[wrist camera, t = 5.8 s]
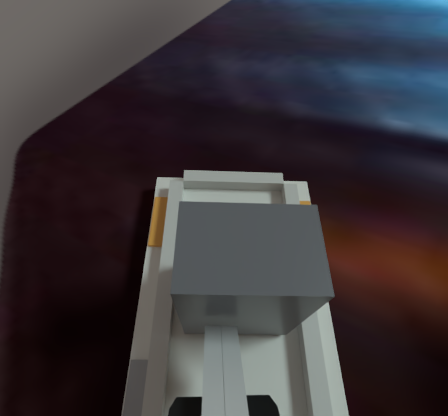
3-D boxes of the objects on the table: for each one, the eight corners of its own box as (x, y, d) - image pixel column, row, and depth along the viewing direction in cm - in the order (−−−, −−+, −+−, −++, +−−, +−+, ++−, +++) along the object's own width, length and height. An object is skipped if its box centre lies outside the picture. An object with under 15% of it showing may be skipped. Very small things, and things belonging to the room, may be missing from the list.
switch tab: (286, 334, 18) (334, 296, 11) (184, 333, 18) (170, 294, 11) (279, 270, 20) (316, 205, 13) (188, 268, 20) (179, 201, 13)
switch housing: (356, 521, 15) (380, 541, 13) (112, 524, 15) (95, 546, 12) (301, 192, 26) (310, 174, 24) (159, 188, 25) (155, 169, 23)
